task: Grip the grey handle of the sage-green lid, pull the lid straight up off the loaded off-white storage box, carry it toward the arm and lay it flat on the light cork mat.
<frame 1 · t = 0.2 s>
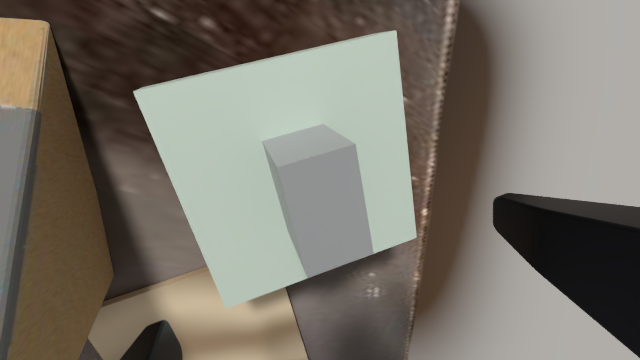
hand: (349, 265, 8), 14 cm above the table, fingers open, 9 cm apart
cork mat: (211, 341, 25), on the table
sandwich container: (2, 170, 18), on the table
lid: (295, 167, 18), point 4 cm above the table, touching storage box
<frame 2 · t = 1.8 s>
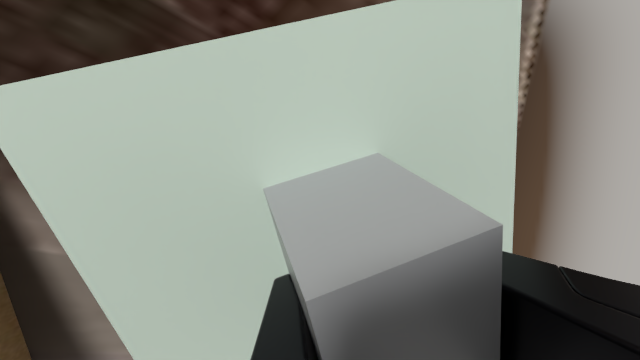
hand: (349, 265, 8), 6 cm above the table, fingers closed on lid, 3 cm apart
lid: (319, 220, 11), point 4 cm above the table, touching gripper, storage box
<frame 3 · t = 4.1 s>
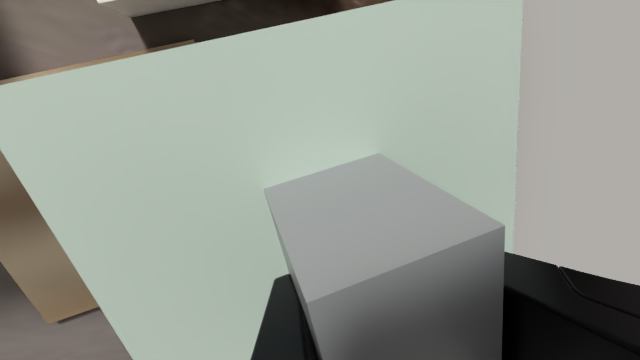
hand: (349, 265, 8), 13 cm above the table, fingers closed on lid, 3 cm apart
cork mat: (117, 189, 18), on the table
lid: (320, 220, 11), point 10 cm above the table, touching gripper
when the fingers open (5 cm above the table, at t = 6.5 s): lid drops 2 cm, resting on cork mat.
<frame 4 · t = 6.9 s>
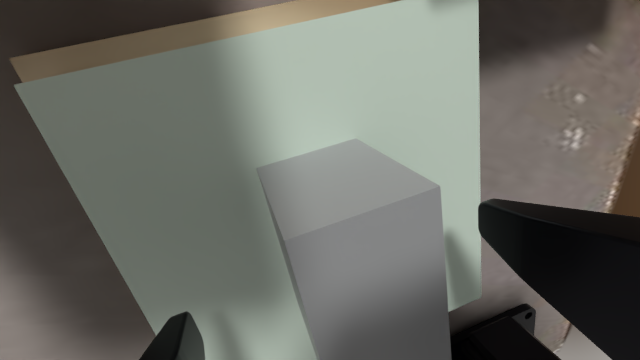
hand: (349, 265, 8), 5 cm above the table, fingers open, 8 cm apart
cork mat: (303, 196, 13), on the table
lid: (308, 201, 12), point 1 cm above the table, touching cork mat
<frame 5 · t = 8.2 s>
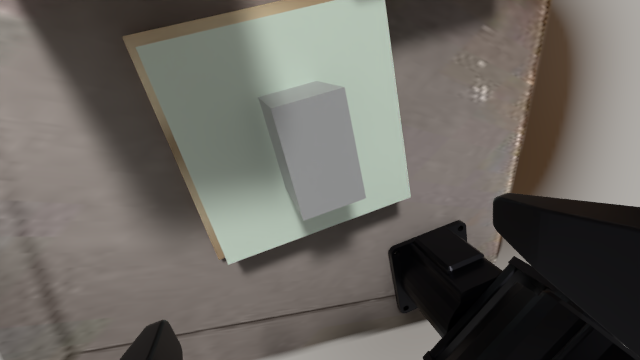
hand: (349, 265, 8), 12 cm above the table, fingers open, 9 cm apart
cork mat: (289, 128, 19), on the table
lid: (292, 129, 19), point 1 cm above the table, touching cork mat
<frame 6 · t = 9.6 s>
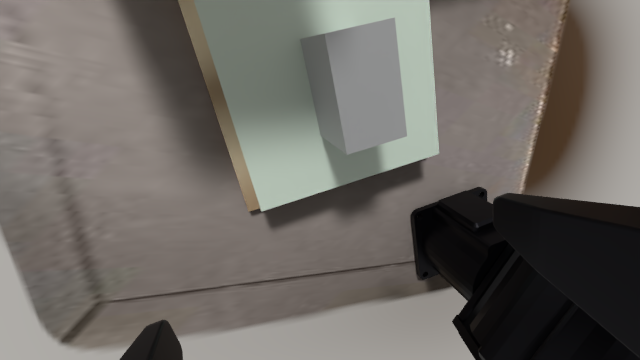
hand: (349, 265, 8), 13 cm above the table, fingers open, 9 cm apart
cork mat: (322, 80, 20), on the table
lid: (326, 80, 19), point 1 cm above the table, touching cork mat
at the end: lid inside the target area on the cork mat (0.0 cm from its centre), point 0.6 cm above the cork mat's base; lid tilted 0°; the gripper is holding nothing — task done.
